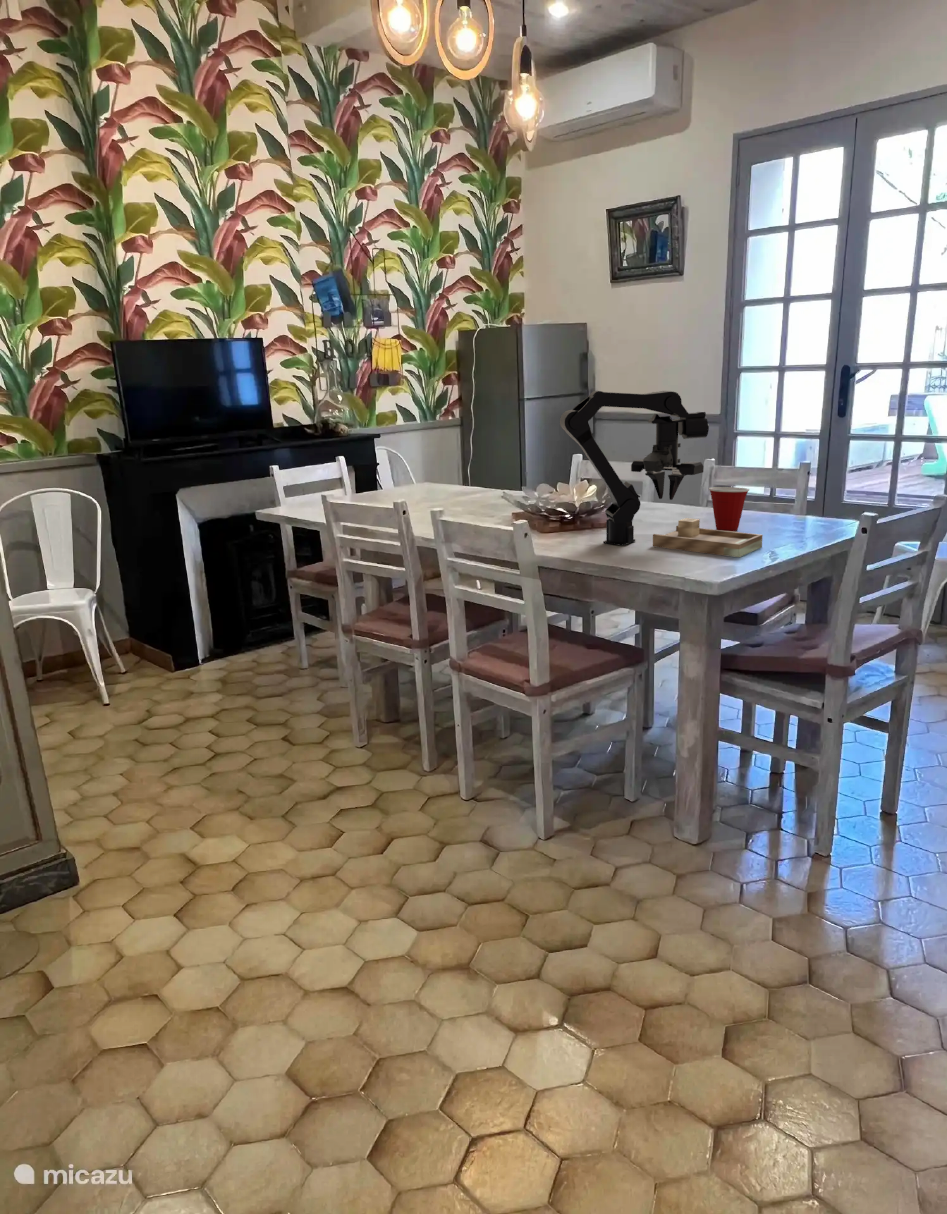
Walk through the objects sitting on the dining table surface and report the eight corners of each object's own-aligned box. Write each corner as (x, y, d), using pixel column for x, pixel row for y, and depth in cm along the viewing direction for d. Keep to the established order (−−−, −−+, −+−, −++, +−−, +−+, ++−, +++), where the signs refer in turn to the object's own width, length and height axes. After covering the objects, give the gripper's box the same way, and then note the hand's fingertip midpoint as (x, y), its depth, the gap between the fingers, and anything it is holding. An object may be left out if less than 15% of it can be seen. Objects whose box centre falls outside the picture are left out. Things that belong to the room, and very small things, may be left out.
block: (678, 535, 221) (678, 520, 219) (685, 532, 223) (685, 517, 222) (691, 536, 218) (692, 521, 217) (699, 534, 221) (699, 519, 220)
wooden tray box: (652, 546, 219) (652, 534, 218) (677, 537, 228) (677, 525, 227) (739, 557, 203) (739, 544, 202) (761, 547, 212) (762, 534, 211)
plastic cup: (753, 528, 234) (755, 485, 231) (737, 535, 227) (739, 491, 223) (717, 524, 241) (719, 483, 238) (700, 531, 233) (701, 488, 230)
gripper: (619, 442, 219) (619, 501, 223) (683, 444, 206) (682, 506, 211) (642, 438, 226) (641, 495, 231) (705, 439, 214) (703, 500, 219)
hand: (665, 499), depth 223 cm, fingers open, 3 cm apart
